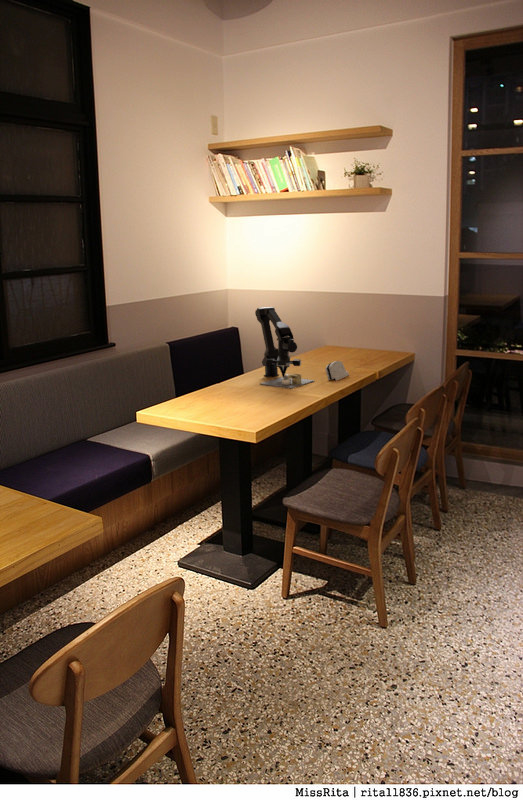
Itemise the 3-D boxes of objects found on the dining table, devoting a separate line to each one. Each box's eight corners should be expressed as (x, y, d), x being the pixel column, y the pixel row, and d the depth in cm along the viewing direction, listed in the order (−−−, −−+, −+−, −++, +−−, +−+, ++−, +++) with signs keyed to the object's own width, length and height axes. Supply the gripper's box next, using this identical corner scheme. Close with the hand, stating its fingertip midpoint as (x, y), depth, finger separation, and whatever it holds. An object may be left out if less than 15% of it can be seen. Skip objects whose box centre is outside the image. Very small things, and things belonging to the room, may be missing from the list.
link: (289, 384, 362) (289, 377, 361) (281, 384, 362) (281, 377, 361) (292, 378, 377) (292, 370, 376) (284, 378, 378) (284, 370, 377)
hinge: (336, 380, 371) (330, 363, 371) (328, 383, 374) (323, 365, 374) (349, 374, 385) (343, 357, 385) (342, 377, 388) (336, 360, 387)
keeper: (288, 384, 367) (287, 374, 366) (292, 382, 370) (292, 373, 369) (296, 385, 364) (296, 375, 362) (301, 384, 367) (301, 374, 365)
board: (259, 384, 370) (259, 383, 369) (283, 377, 385) (283, 376, 385) (290, 388, 356) (290, 387, 356) (314, 381, 372) (314, 380, 372)
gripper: (264, 351, 366) (264, 380, 370) (298, 352, 363) (298, 381, 367) (267, 348, 377) (267, 376, 381) (301, 348, 374) (301, 376, 378)
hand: (283, 377), depth 376 cm, fingers closed
